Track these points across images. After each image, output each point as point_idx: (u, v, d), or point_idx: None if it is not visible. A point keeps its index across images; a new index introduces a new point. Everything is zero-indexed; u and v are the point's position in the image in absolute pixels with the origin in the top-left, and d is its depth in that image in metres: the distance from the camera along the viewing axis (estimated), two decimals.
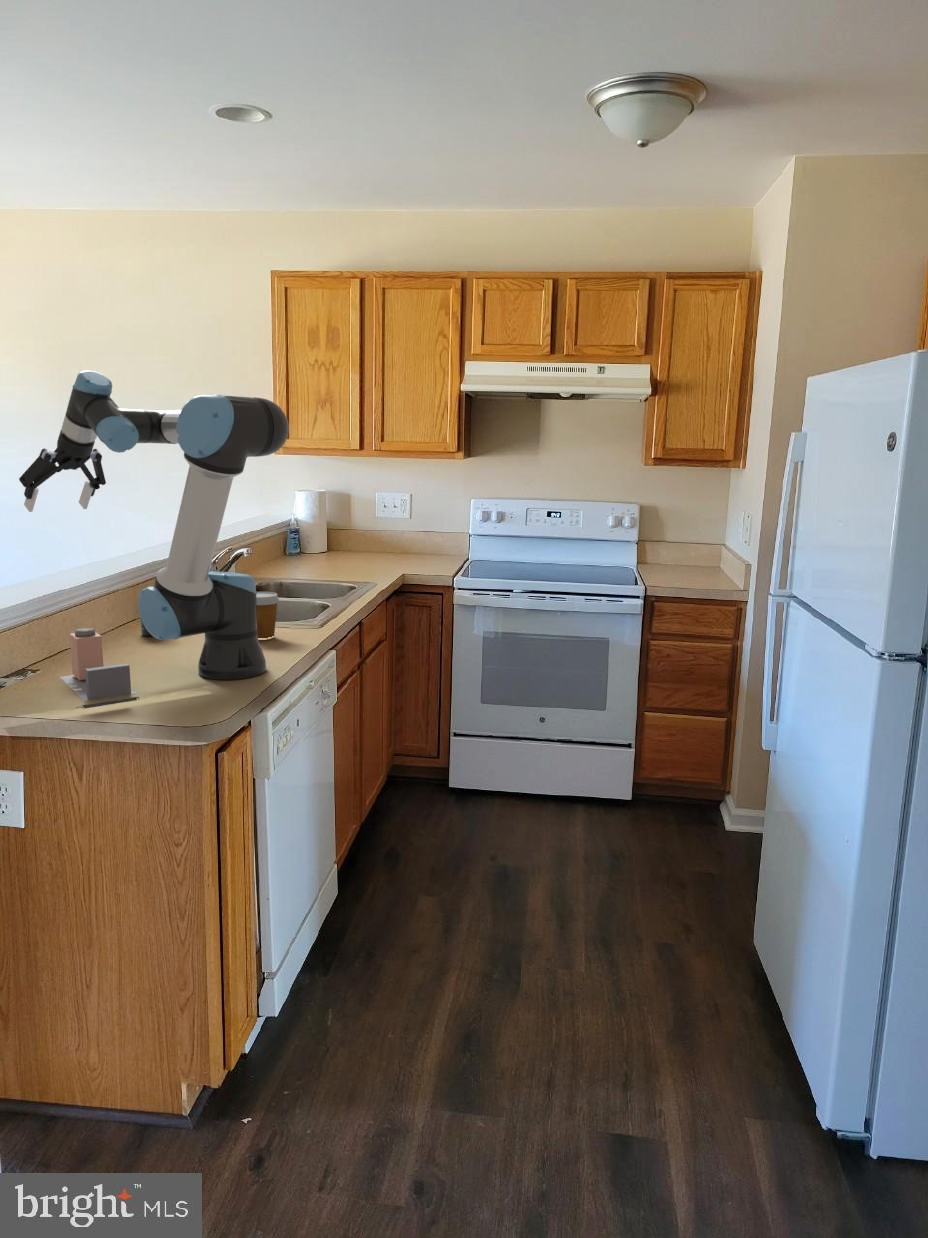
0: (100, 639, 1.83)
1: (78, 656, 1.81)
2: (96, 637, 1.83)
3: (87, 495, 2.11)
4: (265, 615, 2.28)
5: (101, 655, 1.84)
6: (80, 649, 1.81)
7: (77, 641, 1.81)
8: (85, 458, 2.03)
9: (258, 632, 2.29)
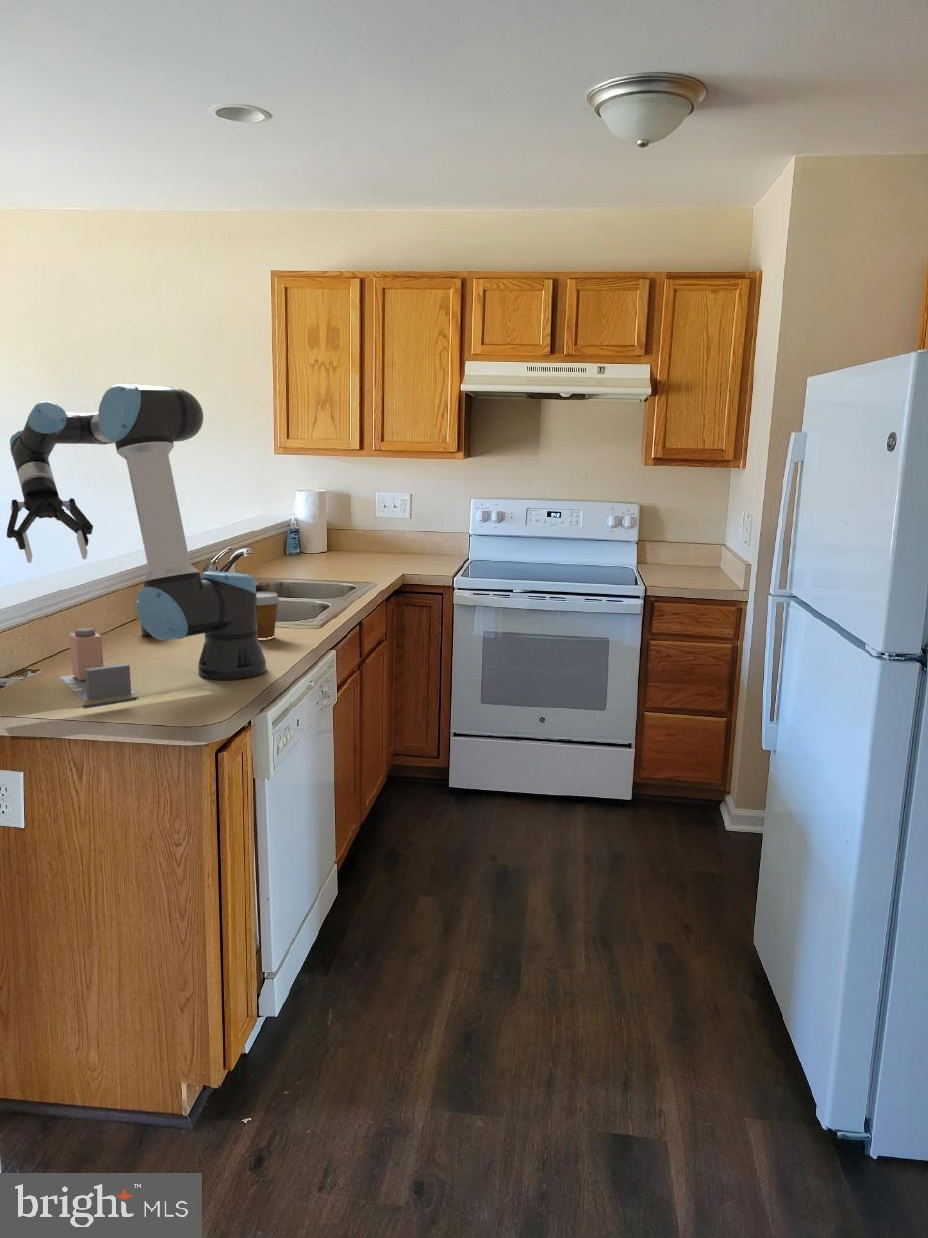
0: (100, 639, 1.83)
1: (78, 656, 1.81)
2: (96, 637, 1.83)
3: (80, 539, 2.02)
4: (265, 615, 2.28)
5: (101, 655, 1.84)
6: (80, 649, 1.81)
7: (77, 641, 1.81)
8: (56, 501, 2.05)
9: (258, 632, 2.29)
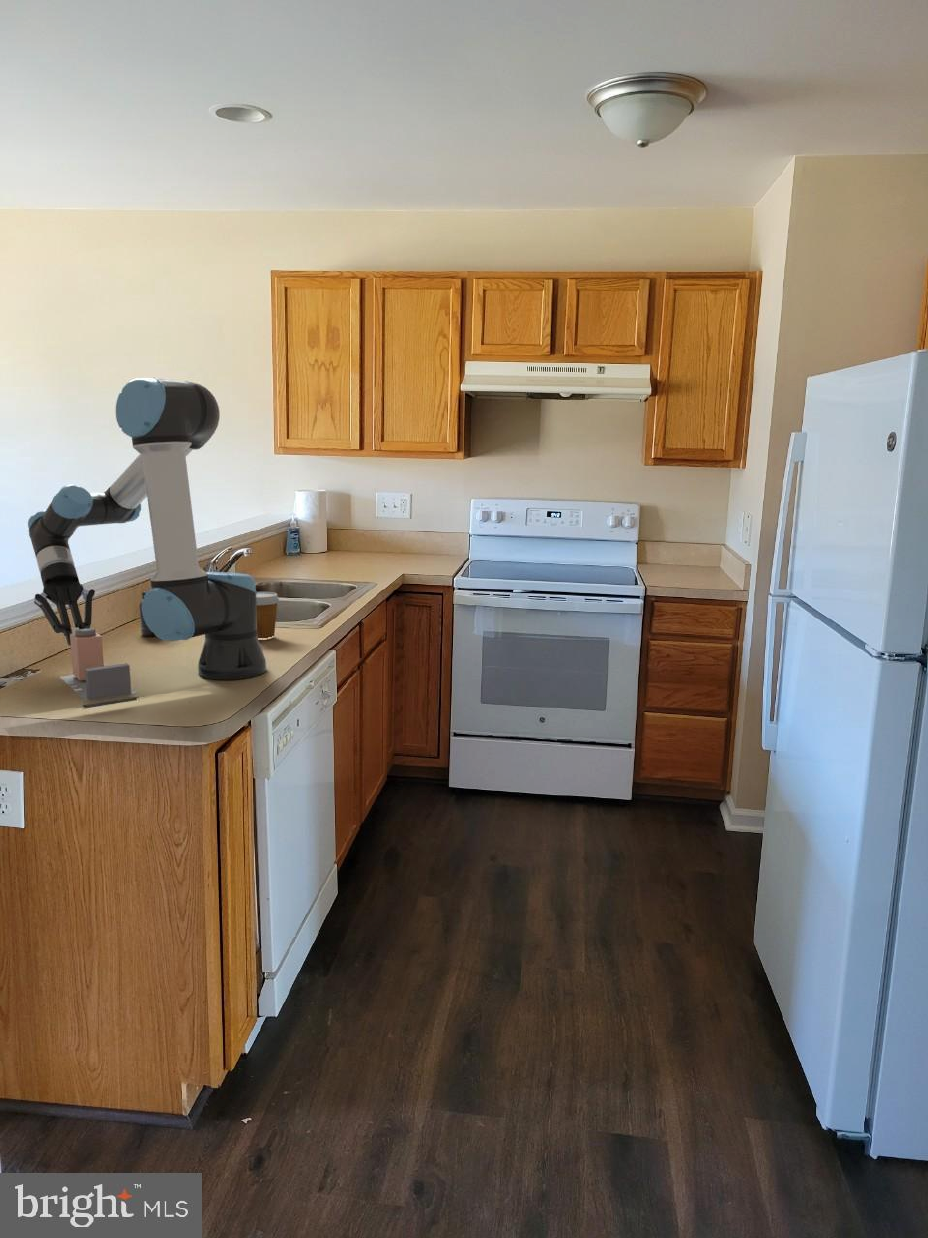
0: (100, 639, 1.83)
1: (78, 656, 1.81)
2: (96, 637, 1.83)
3: None
4: (265, 615, 2.28)
5: (101, 655, 1.84)
6: (81, 650, 1.81)
7: (77, 641, 1.81)
8: (76, 586, 1.96)
9: (258, 632, 2.29)
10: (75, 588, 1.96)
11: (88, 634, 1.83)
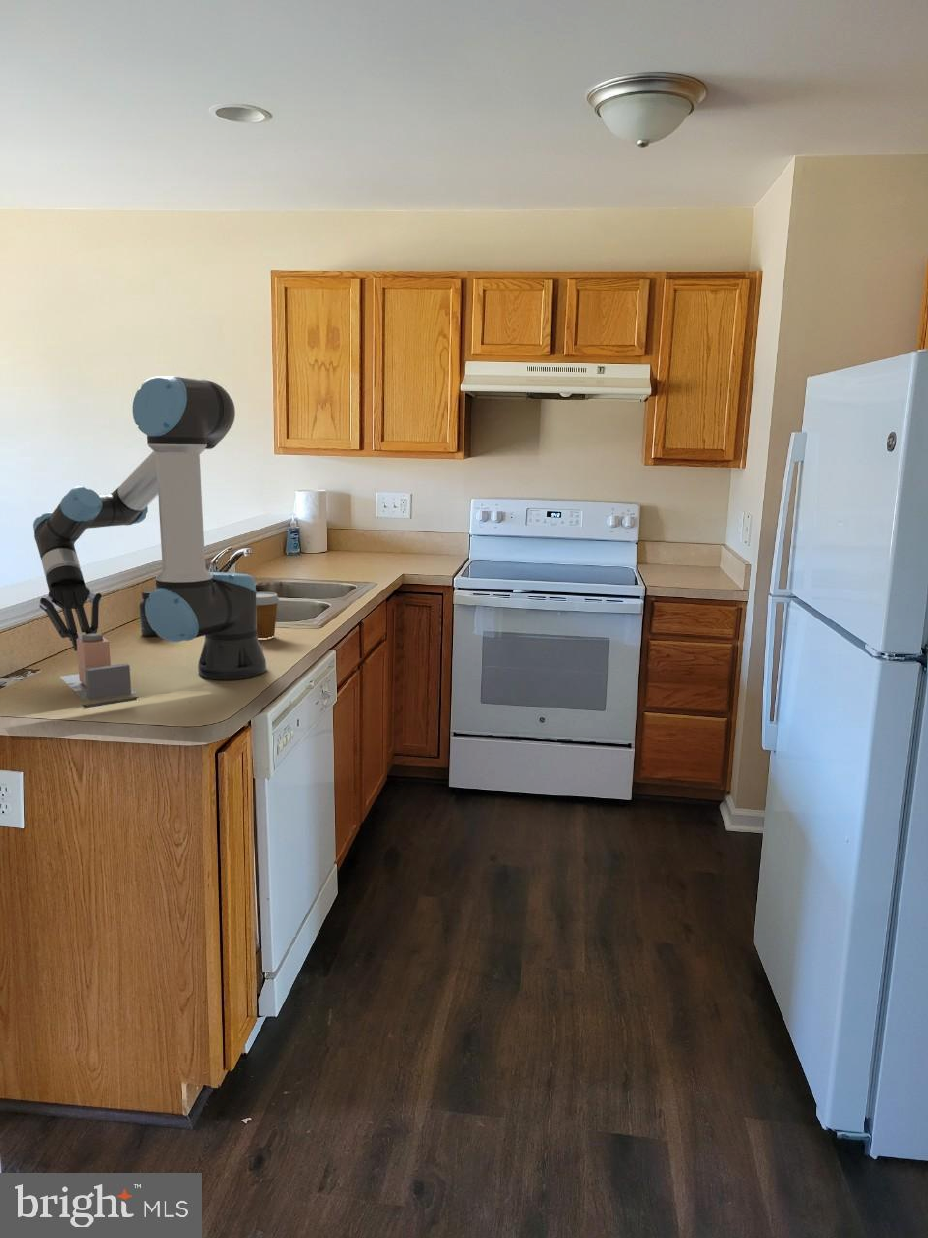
0: (108, 645, 1.79)
1: (85, 662, 1.77)
2: (104, 643, 1.78)
3: None
4: (265, 615, 2.28)
5: (109, 661, 1.79)
6: (88, 655, 1.77)
7: (84, 647, 1.76)
8: (82, 590, 1.92)
9: (258, 632, 2.29)
10: (81, 592, 1.92)
11: (95, 639, 1.78)
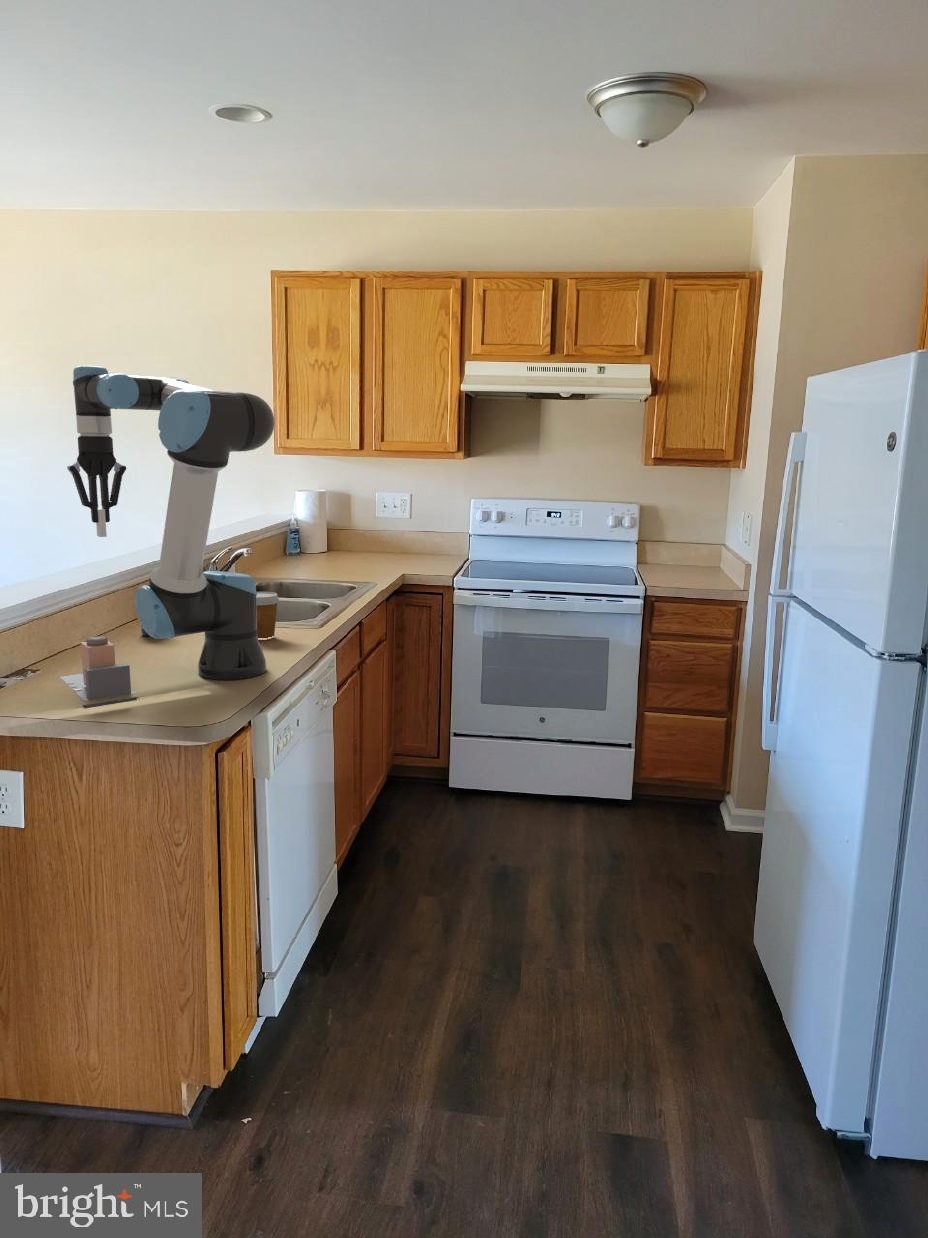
0: (113, 648, 1.76)
1: (90, 666, 1.74)
2: (109, 646, 1.75)
3: (102, 519, 2.03)
4: (265, 615, 2.28)
5: None
6: (92, 659, 1.74)
7: (89, 650, 1.73)
8: (110, 460, 2.02)
9: (258, 632, 2.29)
10: (108, 462, 2.02)
11: (100, 643, 1.75)
